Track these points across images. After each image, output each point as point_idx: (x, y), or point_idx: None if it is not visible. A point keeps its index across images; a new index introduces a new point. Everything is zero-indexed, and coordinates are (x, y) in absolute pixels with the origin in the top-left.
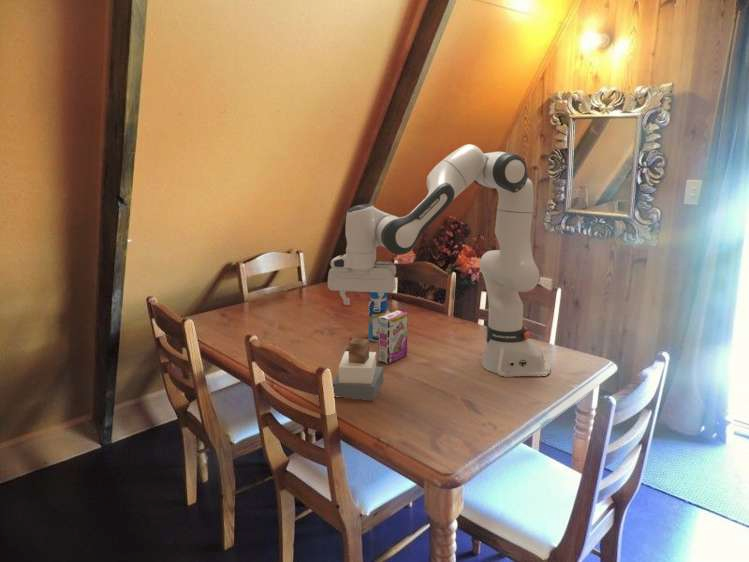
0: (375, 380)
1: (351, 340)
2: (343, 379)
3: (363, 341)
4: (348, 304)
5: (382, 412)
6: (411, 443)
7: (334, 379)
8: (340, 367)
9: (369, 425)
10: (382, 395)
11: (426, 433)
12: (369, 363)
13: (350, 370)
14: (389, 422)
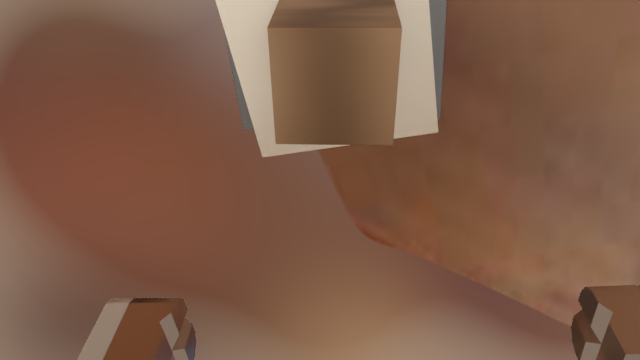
0: (437, 53)
1: (273, 85)
2: None
3: (369, 82)
4: (194, 349)
5: (478, 165)
6: (578, 294)
7: (238, 90)
8: (273, 155)
9: (446, 242)
10: (460, 34)
11: (629, 248)
12: (412, 75)
13: None
14: (509, 216)
